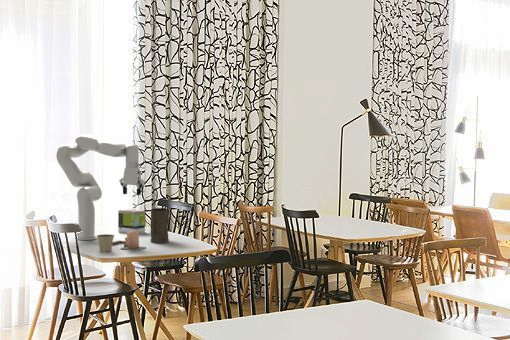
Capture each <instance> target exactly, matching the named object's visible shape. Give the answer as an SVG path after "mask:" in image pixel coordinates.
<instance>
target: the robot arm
mask: <svg viewBox="0 0 510 340" xmlns="http://www.w3.org/2000/svg"><path fill="white" fill-rule="evenodd" d="M74 142H75V143H66V144H62V145H60V146H59V147H58V148H57V150H56V155H55V157H56V160H57V163H58V165H59V166H60V168H61V169H62V170H63V173H64V175H66V177H67V179H68V181H69V182H70V184H71V185H72V186H73V187H74V188H79V190H78V191H77V193H76V199H77V205H78V209H77V210H78V223H77V224H78V225H79V226H80V227H81V229H82V232H80V233H77V234H76V236H78V239H77V240H79V241H90V240H91V241H92V240H98V238H97V235H95V233H96V232H95V224H96V223H95V219H96V218H95V217H96V215H95V214H96V213H95V205H94V202H97V201H99V200H100V199H101V198H102V193H103V191H102V190H101V187H100V186H99V184H98V182H97V181H96V179H95V178H94V176H93V175H92V174H91V172H89V171H85V170H84V171H82V170H81V168H79V166H78V164H77V163H76V162H75V161H74V160H73V159H74V158H75V159H76V158H80V157H81V156H83V155H85V154H86V153H87V152H90V151H92V152H96V153H98V154H101V155H104V156H108V157H113V158H122V157H123V158H125V167H124V171H123V177H121V178H120V179H119V180H118V181H119V183H120V186H121V187H122V194H123V195H127V194H128V187H127V186H136V187H137V188H136V196H140V195H142V194H141V193H142V188H143V187H144V184H145V183H146V181H145V180H144V179H143V178H142V173H141V168H140V166H141V164H140V163H139V161H140V159H139V151H140V150H139V149H140V148H139V147H140V146H139V145H137V144H123V143H117V144H115V143H111V142H107V141H104V139H103V138H100V137H96V136H95V135H93V134H86V133H84V134H79V135H78V136H76V138H75V141H74Z"/></svg>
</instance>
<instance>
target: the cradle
mask: <svg viewBox="0 0 510 340" xmlns="http://www.w3.org/2000/svg"><path fill="white" fill-rule="evenodd" d="M120 244H121V245H122V244H123V248H124V247H127V244H125V240H116V241H113V242H112V247H113V246H116V245H120Z"/></svg>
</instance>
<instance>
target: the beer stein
mask: <svg viewBox="0 0 510 340" xmlns="http://www.w3.org/2000/svg"><path fill="white" fill-rule="evenodd" d="M168 211H169V210H168V208H165V207H163V208H162V207H157V208H151V209H150V243H153V244H165V243H168V242H169V241H170V240H169V230H168V225H169V212H168Z"/></svg>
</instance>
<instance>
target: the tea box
mask: <svg viewBox="0 0 510 340" xmlns="http://www.w3.org/2000/svg"><path fill="white" fill-rule="evenodd" d="M117 213H118V214H117V215H118V216H117V217H118V218H117V220H118V223H117V224H118V226H117V227H118V228H117V231H118V233H121V234H127V231H139V235H140V234H144V233H146V211H145V210H143V209H142V210H140V209H130V208H128V209H119V210H118V212H117Z"/></svg>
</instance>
